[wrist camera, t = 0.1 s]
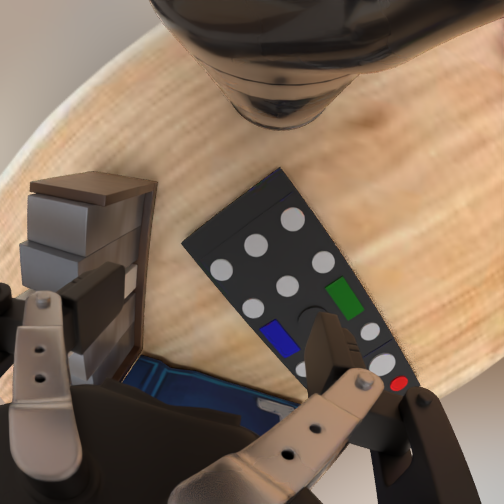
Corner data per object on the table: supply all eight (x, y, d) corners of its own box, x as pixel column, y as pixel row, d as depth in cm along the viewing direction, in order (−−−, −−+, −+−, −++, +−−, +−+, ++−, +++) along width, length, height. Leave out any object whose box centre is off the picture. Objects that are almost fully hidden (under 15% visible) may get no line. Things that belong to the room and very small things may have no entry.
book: (128, 381, 36) (42, 534, 12) (134, 342, 34) (23, 514, 10) (283, 432, 36) (278, 602, 13) (306, 399, 34) (315, 595, 11)
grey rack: (92, 171, 28) (12, 185, 17) (157, 181, 28) (90, 200, 17) (89, 330, 34) (37, 386, 23) (142, 349, 34) (100, 416, 23)
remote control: (342, 420, 35) (344, 431, 33) (185, 239, 29) (179, 244, 28) (416, 378, 33) (422, 388, 31) (279, 167, 27) (280, 167, 25)
